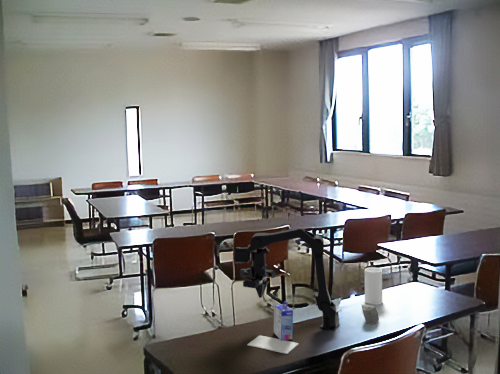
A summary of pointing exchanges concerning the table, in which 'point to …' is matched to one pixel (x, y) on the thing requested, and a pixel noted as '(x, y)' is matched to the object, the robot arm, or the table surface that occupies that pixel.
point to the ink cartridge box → (283, 321)
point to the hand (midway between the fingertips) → (260, 297)
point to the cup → (373, 285)
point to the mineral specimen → (370, 314)
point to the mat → (273, 344)
